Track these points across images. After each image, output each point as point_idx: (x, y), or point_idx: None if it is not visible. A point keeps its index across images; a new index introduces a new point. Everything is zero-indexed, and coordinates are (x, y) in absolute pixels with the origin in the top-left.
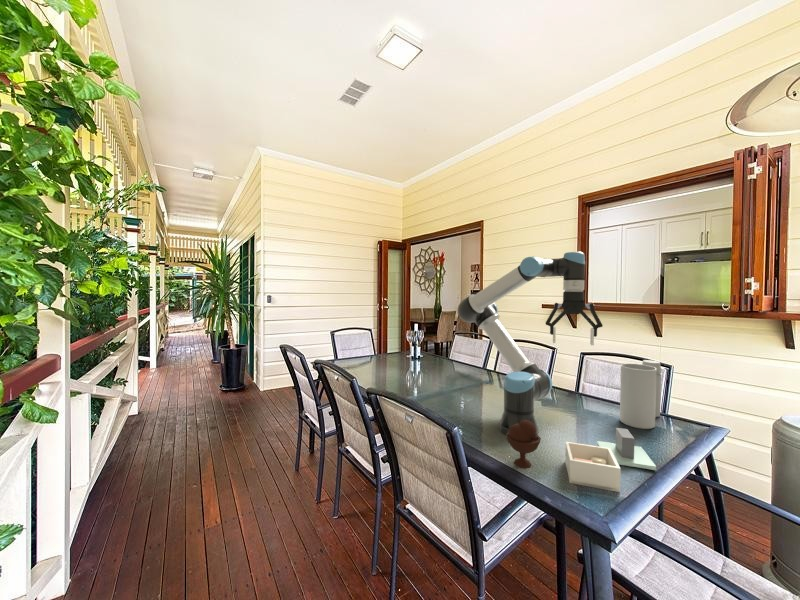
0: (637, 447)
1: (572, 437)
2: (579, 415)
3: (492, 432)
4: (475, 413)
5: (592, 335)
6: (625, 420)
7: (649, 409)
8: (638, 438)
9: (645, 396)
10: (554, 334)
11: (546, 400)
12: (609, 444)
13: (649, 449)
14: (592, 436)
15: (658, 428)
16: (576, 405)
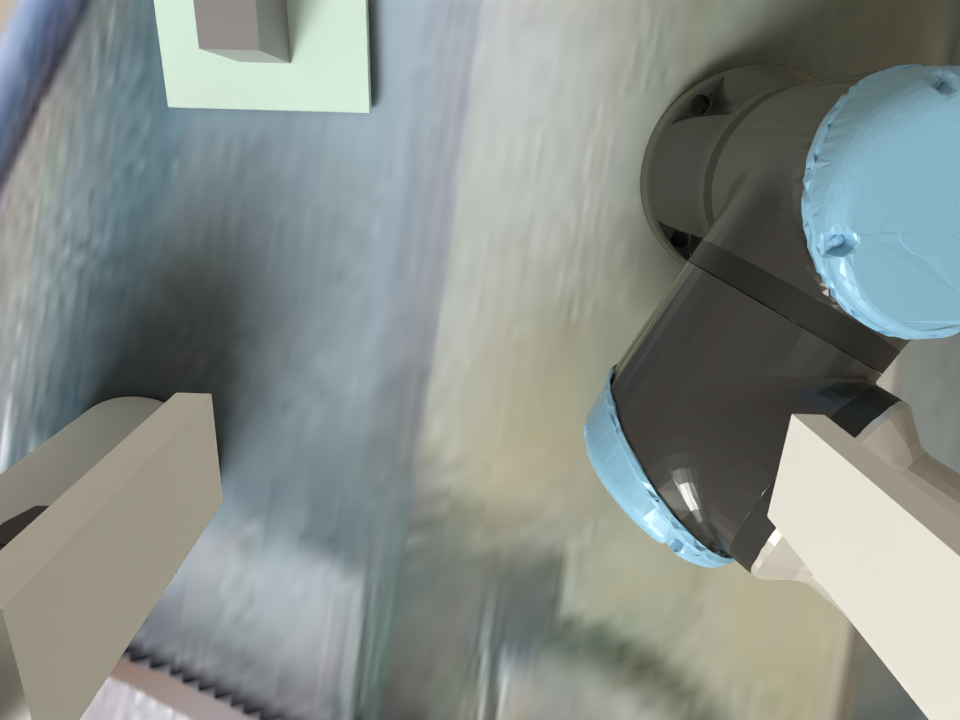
0: (187, 92)
1: (475, 178)
2: (398, 480)
3: None
4: (933, 342)
5: (100, 489)
6: None
7: (40, 446)
8: (167, 273)
9: (11, 480)
10: (915, 501)
11: (530, 631)
12: (315, 83)
13: (138, 151)
14: (376, 225)
15: (61, 429)
16: (393, 607)
